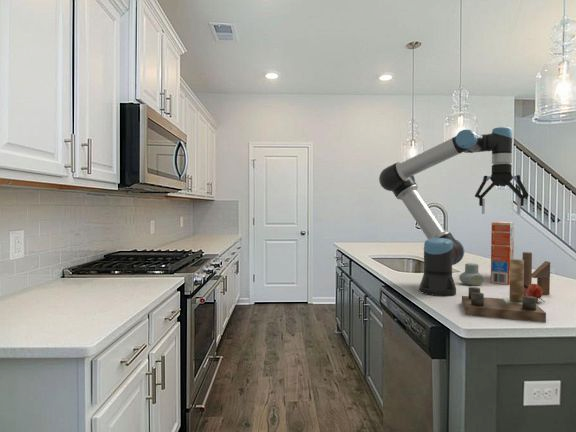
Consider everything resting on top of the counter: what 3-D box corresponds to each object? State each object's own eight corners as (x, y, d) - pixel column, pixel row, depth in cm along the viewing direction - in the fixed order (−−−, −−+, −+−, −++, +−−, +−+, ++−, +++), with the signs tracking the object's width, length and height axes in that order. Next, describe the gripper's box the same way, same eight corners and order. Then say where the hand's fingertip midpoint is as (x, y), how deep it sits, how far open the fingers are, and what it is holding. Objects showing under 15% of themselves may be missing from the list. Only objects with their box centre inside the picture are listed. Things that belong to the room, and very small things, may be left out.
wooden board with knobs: (465, 315, 138) (466, 295, 138) (461, 303, 155) (462, 285, 155) (545, 322, 130) (546, 300, 130) (532, 308, 147) (532, 290, 147)
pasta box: (509, 285, 193) (510, 223, 193) (490, 283, 198) (491, 222, 197) (512, 278, 212) (513, 221, 212) (495, 276, 217) (496, 221, 216)
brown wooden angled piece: (549, 294, 172) (550, 253, 172) (524, 294, 173) (524, 252, 172) (544, 292, 176) (545, 252, 175) (519, 292, 176) (520, 251, 176)
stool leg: (510, 301, 144) (511, 260, 144) (508, 299, 148) (508, 259, 148) (524, 302, 143) (525, 260, 143) (521, 300, 147) (522, 259, 147)
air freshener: (465, 286, 190) (466, 265, 189) (456, 283, 198) (456, 263, 198) (487, 285, 191) (487, 265, 191) (476, 282, 199) (477, 262, 199)
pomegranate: (536, 305, 163) (515, 288, 165) (550, 292, 160) (528, 276, 163) (540, 311, 156) (517, 294, 158) (554, 298, 154) (531, 281, 156)
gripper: (532, 164, 170) (531, 214, 170) (468, 165, 178) (468, 213, 179) (537, 162, 163) (536, 214, 163) (470, 164, 171) (469, 213, 171)
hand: (500, 214), depth 171 cm, fingers open, 13 cm apart
